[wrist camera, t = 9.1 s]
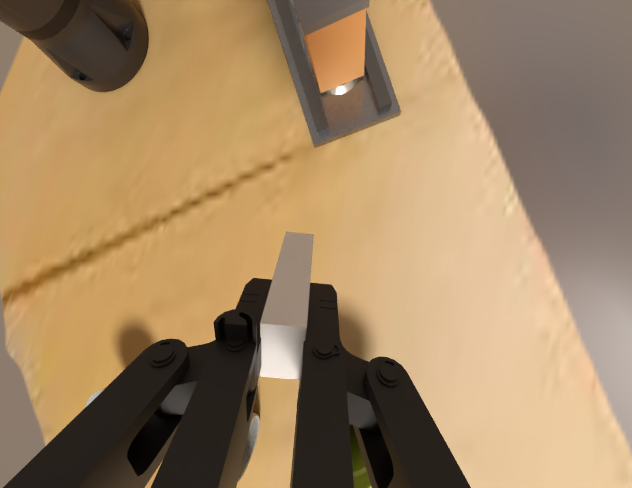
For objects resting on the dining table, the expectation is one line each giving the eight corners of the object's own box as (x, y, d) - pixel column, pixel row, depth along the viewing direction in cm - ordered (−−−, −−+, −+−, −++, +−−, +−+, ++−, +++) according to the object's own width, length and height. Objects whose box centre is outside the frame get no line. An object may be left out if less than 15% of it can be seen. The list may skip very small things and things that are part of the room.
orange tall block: (365, 76, 34) (369, -4, 23) (319, 95, 35) (302, 27, 24) (353, 38, 34) (350, -58, 23) (307, 58, 35) (285, -25, 24)
